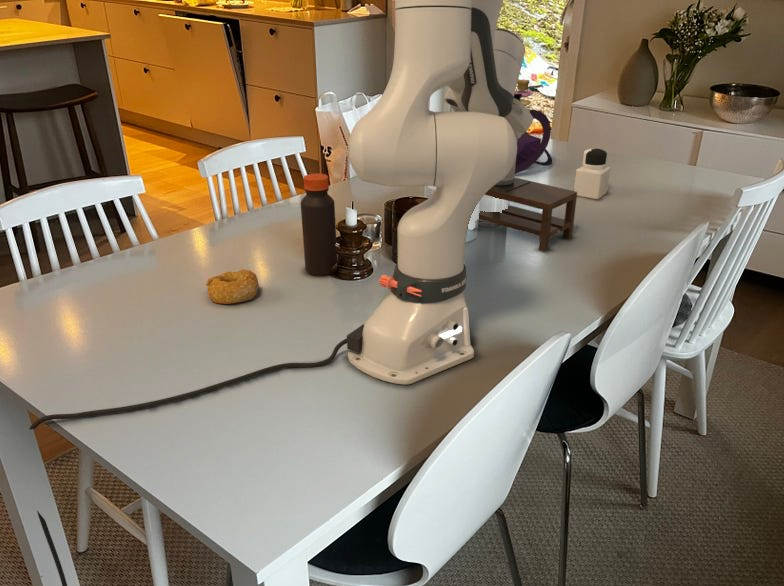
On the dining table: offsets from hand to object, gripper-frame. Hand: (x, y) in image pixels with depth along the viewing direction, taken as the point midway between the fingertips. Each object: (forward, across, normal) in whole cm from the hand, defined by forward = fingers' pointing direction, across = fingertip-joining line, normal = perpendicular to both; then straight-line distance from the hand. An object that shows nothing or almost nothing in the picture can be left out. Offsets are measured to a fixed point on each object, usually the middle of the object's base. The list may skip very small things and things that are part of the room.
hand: (505, 132), depth 170 cm
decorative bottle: (+46, +31, -14) cm, 58 cm away
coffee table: (+16, -6, +16) cm, 23 cm away
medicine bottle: (+43, +1, -10) cm, 44 cm away
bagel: (-32, +9, +64) cm, 73 cm away
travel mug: (+8, 0, +9) cm, 12 cm away
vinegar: (-18, +7, +50) cm, 54 cm away
